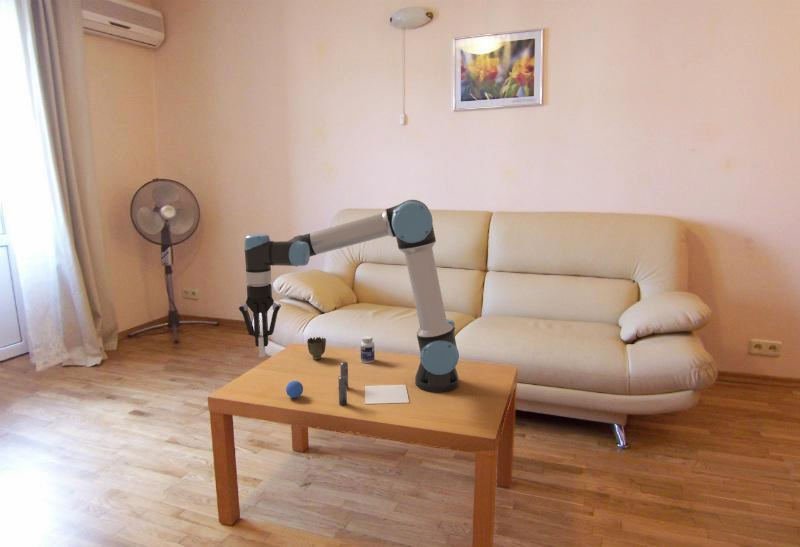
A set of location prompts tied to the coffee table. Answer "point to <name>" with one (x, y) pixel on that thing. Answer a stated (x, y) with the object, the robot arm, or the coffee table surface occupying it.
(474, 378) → the coffee table surface
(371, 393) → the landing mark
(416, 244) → the robot arm
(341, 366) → the post
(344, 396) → the post
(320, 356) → the cup
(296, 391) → the ball
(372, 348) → the pill bottle
